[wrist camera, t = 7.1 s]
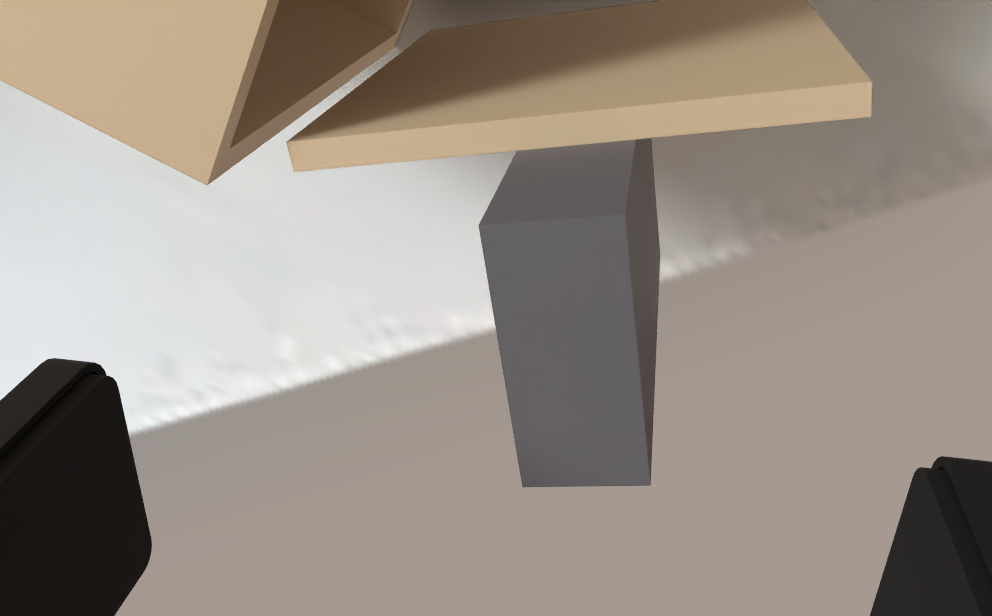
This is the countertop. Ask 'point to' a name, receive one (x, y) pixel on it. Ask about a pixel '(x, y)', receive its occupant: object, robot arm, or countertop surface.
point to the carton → (192, 67)
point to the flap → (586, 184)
